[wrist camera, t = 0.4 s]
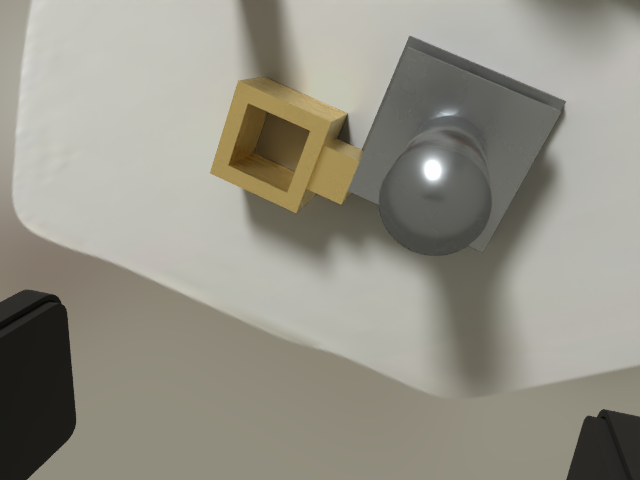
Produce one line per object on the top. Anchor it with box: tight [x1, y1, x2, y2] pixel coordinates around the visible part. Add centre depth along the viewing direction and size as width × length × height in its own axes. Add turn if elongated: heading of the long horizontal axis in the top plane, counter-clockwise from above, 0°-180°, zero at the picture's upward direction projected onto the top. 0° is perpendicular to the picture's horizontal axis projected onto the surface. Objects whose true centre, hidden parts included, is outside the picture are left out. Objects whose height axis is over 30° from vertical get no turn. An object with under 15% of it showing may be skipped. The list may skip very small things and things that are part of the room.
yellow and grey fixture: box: [210, 36, 566, 256], centre depth 30 cm, size 12×18×15 cm
